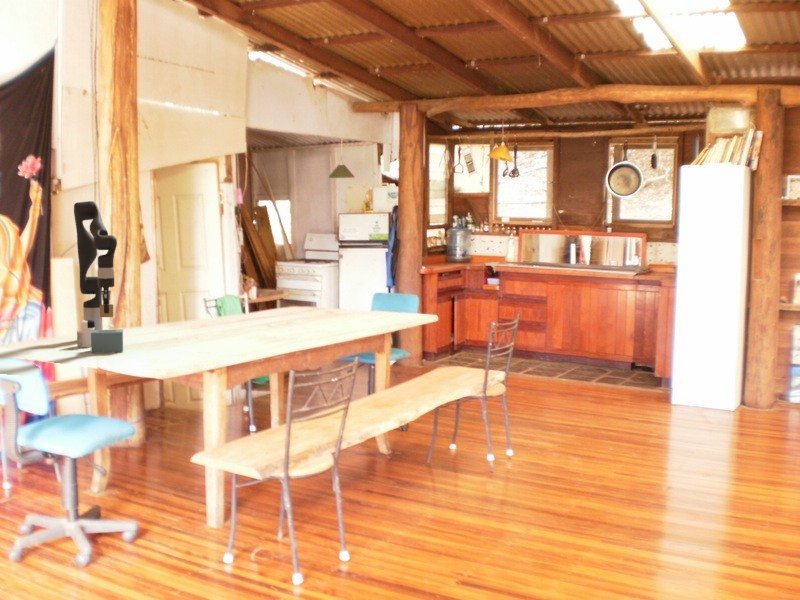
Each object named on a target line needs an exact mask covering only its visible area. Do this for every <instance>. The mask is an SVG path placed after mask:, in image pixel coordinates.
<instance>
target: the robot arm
mask: <svg viewBox="0 0 800 600" xmlns="http://www.w3.org/2000/svg"><path fill="white" fill-rule="evenodd" d="M73 214H74V215H73V216H74V222H75V228H76V229H75V230H76V240H77V241H76V242H77V256H78V265H79V266H78V267H79V291H80V293H81V295H94V297H93V298H90V299H88V300H86V301H85V300H84V302H83V303H82V305H83V306H82V307H83V309H82V310H83V311H82V312H83V320H93V321H94V322H95V329H94V330H103V317H100V304H103V305H104V313H109V304H110V303H111V302H110V301H111V292H112V291H111V290H110V288H113V287H115V270H114V258H115V253H116V249H117V246H118V240H117V237H116V236H115V235H109V233H108V229H107V228H106V227H105V225H104V222H103V219H102V216H101V213H100V210H99V207H98V205H97V204H96V202H95V201H91V200H90V201H79V202H75V203H74V205H73ZM90 220H91V222H90V224H89V231H88V230H87V229H86V227H85V226H84V221H90ZM89 232H90V233H91V234H90V233H89ZM98 251H107V253H105V254H101V255H99V256H97V255H98ZM96 258H97V276H87V274H88V271H89V269H90V267H91V266H92V264H93V263H94V262H95V260H96Z"/></svg>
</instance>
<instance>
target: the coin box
mask: <svg viewBox="0 0 800 600" xmlns="http://www.w3.org/2000/svg"><path fill="white" fill-rule="evenodd" d="M123 350H124V330H123V329H102V330H92V332H91V347H90V351H91V354H109V353H110V354H113V353H124V351H123Z"/></svg>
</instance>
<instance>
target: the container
mask: <svg viewBox="0 0 800 600" xmlns="http://www.w3.org/2000/svg"><path fill="white" fill-rule="evenodd" d="M94 329H95V322H94V321H93V320H84V319H83V320H82V321H80V330H77V331H76V346H77V347H81V348H85V347H86V348H91V332H92V330H94Z"/></svg>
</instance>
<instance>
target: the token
mask: <svg viewBox="0 0 800 600" xmlns="http://www.w3.org/2000/svg"><path fill="white" fill-rule="evenodd" d="M100 317H102V318H114V304H113V303H112V304H109V313H104V305H103V303H102V304H100Z"/></svg>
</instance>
